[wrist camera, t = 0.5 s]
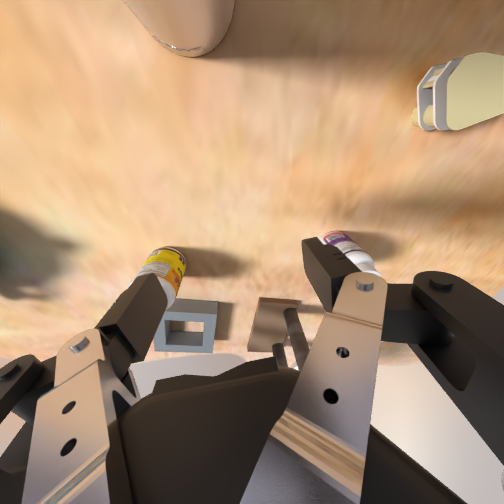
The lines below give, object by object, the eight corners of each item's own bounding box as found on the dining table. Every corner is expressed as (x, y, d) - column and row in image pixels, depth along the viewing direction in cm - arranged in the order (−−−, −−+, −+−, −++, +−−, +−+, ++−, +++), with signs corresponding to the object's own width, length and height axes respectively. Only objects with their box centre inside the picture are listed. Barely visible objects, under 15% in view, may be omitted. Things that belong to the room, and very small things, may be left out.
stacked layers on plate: (490, 36, 21) (563, 9, 17) (461, 133, 26) (512, 133, 21) (394, 58, 22) (440, 38, 17) (383, 150, 26) (416, 154, 22)
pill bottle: (334, 264, 34) (366, 306, 26) (308, 252, 33) (333, 293, 25) (355, 237, 32) (398, 274, 24) (328, 224, 31) (363, 259, 22)
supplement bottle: (183, 278, 34) (165, 330, 25) (148, 270, 32) (116, 322, 24) (191, 250, 31) (173, 297, 22) (152, 240, 30) (118, 286, 21)
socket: (156, 297, 35) (150, 310, 33) (218, 301, 37) (217, 314, 34) (160, 337, 40) (154, 351, 38) (213, 339, 42) (212, 353, 39)
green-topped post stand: (237, 293, 36) (246, 671, 11) (297, 298, 38) (427, 635, 12) (228, 347, 43) (220, 647, 18) (279, 349, 45) (336, 626, 20)
